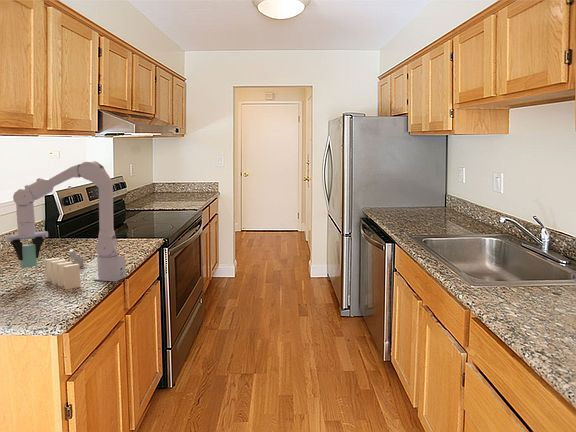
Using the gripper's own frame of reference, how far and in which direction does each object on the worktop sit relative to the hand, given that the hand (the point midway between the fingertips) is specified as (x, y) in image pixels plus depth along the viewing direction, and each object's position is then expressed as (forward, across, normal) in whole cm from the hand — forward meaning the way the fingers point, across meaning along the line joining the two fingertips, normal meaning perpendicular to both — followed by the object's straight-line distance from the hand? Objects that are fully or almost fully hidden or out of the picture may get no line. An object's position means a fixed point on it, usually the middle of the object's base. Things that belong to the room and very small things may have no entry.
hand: (28, 258), depth 195 cm
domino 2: (+8, -6, +10) cm, 14 cm away
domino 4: (+8, -6, +20) cm, 23 cm away
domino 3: (+8, -6, +15) cm, 18 cm away
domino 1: (+8, -6, +5) cm, 12 cm away
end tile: (+3, 0, 0) cm, 3 cm away
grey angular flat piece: (+8, -22, -8) cm, 24 cm away
